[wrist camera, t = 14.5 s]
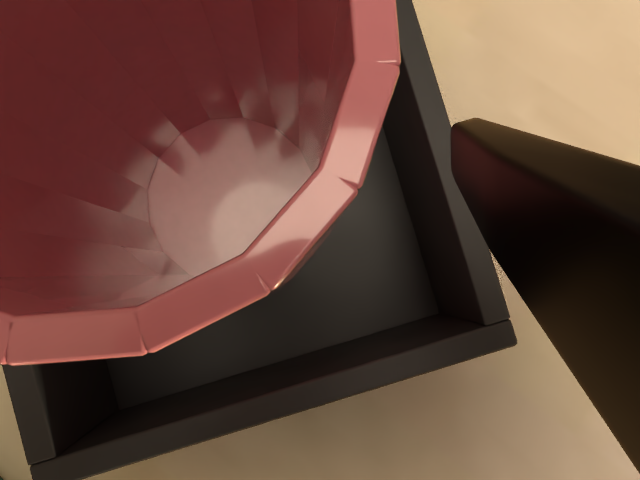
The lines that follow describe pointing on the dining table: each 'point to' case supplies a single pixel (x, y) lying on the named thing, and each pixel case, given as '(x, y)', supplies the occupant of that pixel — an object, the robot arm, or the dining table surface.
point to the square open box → (298, 315)
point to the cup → (174, 160)
